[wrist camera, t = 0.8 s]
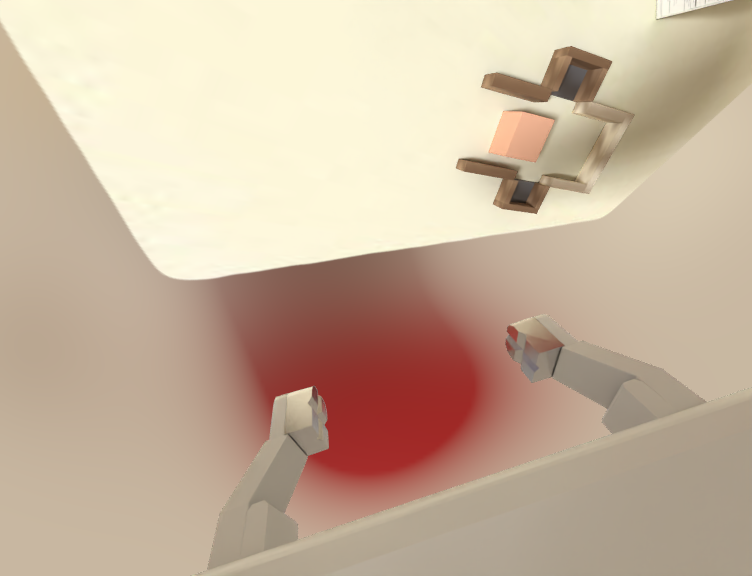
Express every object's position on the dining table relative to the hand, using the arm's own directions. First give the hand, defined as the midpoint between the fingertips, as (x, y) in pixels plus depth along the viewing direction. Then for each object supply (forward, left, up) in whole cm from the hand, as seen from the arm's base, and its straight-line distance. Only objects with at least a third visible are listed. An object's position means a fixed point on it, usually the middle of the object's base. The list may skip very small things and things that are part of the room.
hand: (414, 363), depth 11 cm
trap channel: (-10, +34, -40) cm, 53 cm away
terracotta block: (-10, +29, -40) cm, 50 cm away
